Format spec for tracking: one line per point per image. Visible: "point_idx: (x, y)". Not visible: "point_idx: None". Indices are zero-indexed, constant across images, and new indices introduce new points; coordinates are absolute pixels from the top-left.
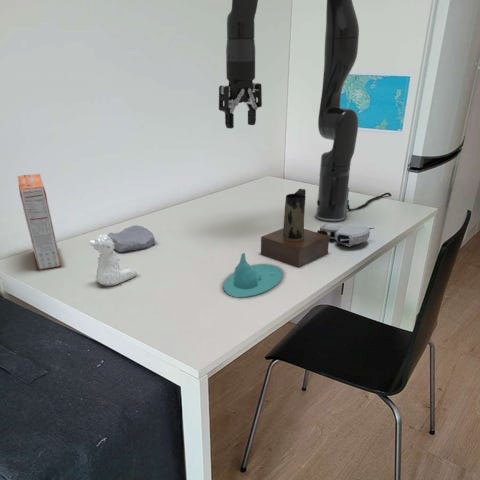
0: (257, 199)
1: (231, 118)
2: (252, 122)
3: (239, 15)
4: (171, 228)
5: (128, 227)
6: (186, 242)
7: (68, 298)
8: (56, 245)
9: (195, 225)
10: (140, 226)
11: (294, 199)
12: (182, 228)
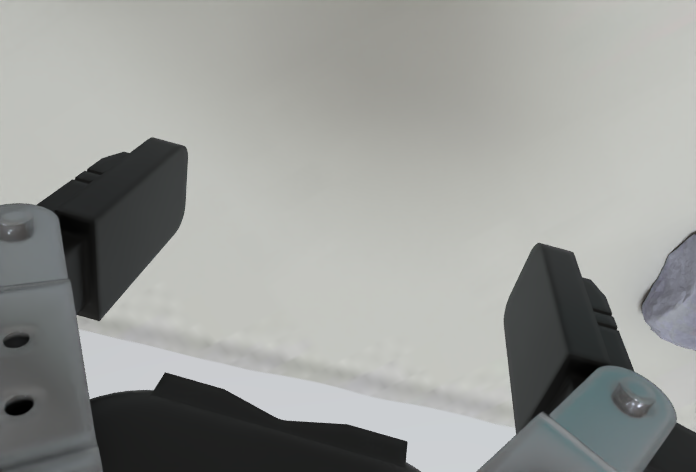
0: (46, 159)
1: (592, 323)
2: (173, 168)
3: None
4: (510, 264)
5: (694, 348)
6: (637, 143)
7: None
8: None
9: (442, 210)
10: (691, 317)
11: None
12: (493, 233)
